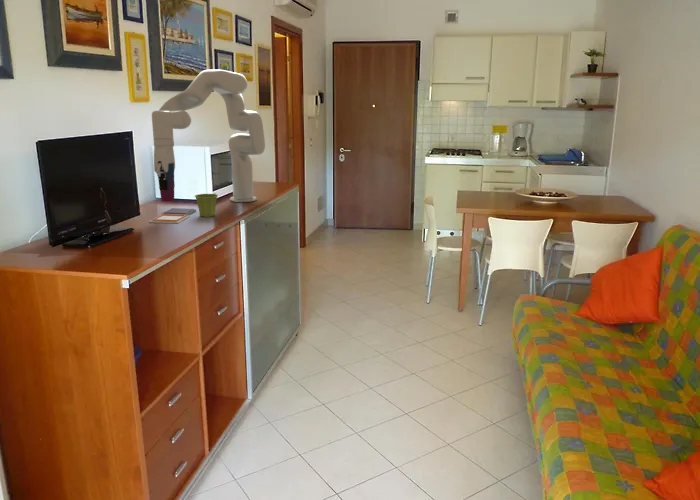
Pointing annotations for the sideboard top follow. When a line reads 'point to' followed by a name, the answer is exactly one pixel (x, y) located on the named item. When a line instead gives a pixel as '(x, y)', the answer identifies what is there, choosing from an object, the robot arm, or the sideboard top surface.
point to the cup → (168, 184)
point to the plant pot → (206, 204)
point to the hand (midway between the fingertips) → (167, 187)
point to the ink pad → (180, 211)
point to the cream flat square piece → (169, 218)
